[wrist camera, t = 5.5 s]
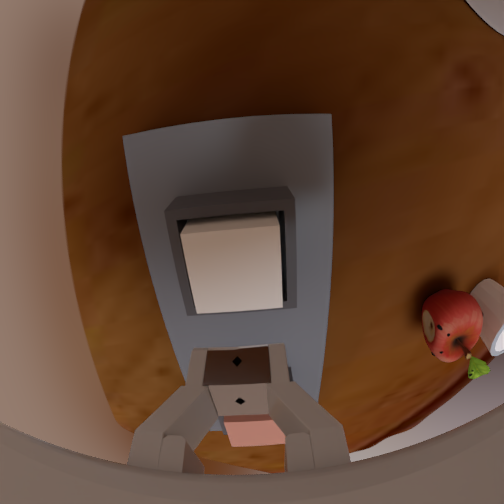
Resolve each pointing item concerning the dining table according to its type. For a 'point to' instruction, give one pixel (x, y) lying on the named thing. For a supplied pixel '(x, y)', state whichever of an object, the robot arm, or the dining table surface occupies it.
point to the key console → (240, 202)
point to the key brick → (253, 430)
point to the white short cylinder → (491, 314)
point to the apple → (453, 327)
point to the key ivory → (234, 262)
